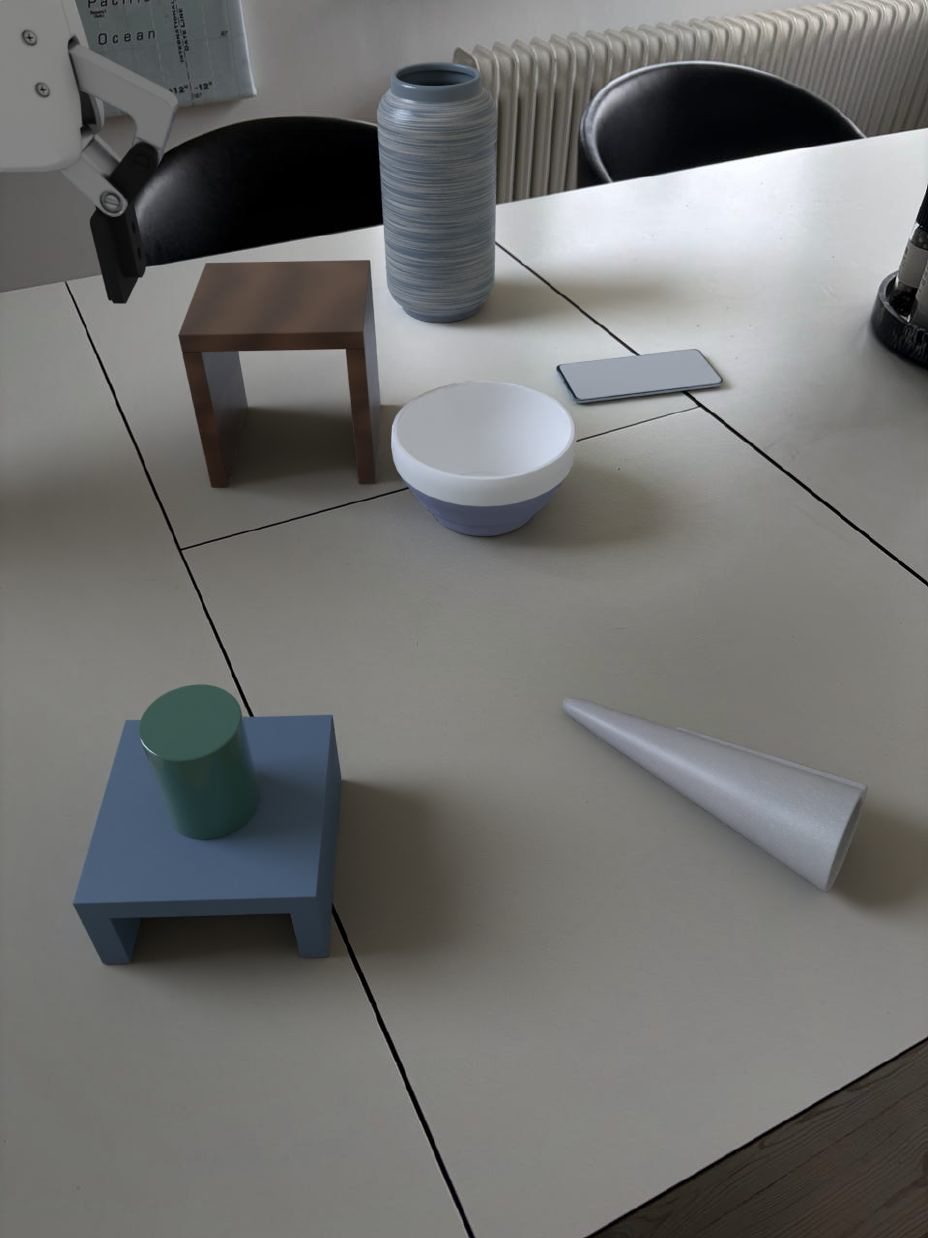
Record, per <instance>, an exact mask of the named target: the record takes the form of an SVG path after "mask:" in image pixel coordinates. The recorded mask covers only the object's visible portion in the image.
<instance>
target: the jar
mask: <svg viewBox="0 0 928 1238" xmlns="http://www.w3.org/2000/svg"><path fill="white" fill-rule="evenodd" d="M240 705H241V704H240V703H239V701H238V700H237V699H236V697H235V696H234V695H232V694H231V693H230V692H229V691H227V690H225V689H224V688H221V687H219V686H215V685H213V684H200V683H199V684H198V683H197V684H190V685H184V686H180V687H177V688H174V689H172V690H169V691H167V692H166V693H163V694H162V695H160V696H159V697H157V698H156V699H154V701H152V702H151V703H150V704H149V706H147V708H146V709H145V710H144V712H143V713H142V715H141V718H140V719H139V720H140V723H139V730H138V733H139V739H140V741H141V744H142V747H143V750H144V753H145V756H146V759H147V762H148V764H149V767H150V770H151V773H152V776H153V779H154V782H155V785H156V787H157V790H158V793H159V796H160V799H161V802H162V805H163V808H164V810H165V813H166V816H167V819H168V821H169V823H170V824H171V826H172V827H173V828H174V829H175V830H176V831H178V832H179V833H181V834H183V835H185V836H187V837H190V838H194V839H205V840H206V839H215V838H220V837H223V836H226V835H228V834H231V833H233V832H235V831H236V830H238V829H239V828H241V827H242V826H243V825H245V824H246V823H247V822H248V821H249V820H250V819H251V817H252V816H253V815H254V813H255V811H256V809H257V807H258V804H259V800H260V788H259V784H258V780H257V775H256V771H255V767H254V762H253V758H252V754H251V750H250V745H249V741H248V737H247V733H246V728H245V724H244V720H243V717H244V716H243V713H242V709H241V706H240Z"/></svg>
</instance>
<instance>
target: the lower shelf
mask: <svg viewBox="0 0 928 1238" xmlns="http://www.w3.org/2000/svg"><path fill="white" fill-rule="evenodd" d="M140 720H141V719H125V720H124V723H123V727H122V731H121V734H120V736H119V737H120V738H119V741H118V744H117V748H116V752H115V756H114V758H113V761H112V766H111V769H110V772H109V776H108V779H107V783H106V786H105V790H104V793H103V795H102V800H101V803H100V806H99V811H98V814H97V817H96V820H95V824H94V828H93V831H92V834H91V838H90V842H89V845H88V849H87V852H86V855H85V858H84V861H83V862H84V863H83V866H82V869H81V873H80V875H79V880H78V883H77V886H76V890H75V893H74V896H73V900H72V905H73V908H74V910H75V912H76V914H77V915H78V918H79V920H80V921H81V924H82V926H83V928H84V929H85V931H86V934H87V936H88V937H89V940H90V941H91V943H92V945H93V947H94V949H95V952H96V953H97V955H98V957H99V959H100V962H101V963H102V964H103V965H112V964H117V965H118V964H131V962H132V959H133V955H134V951H135V945H136V941H137V938H138V933H139V928H140V925H141V920H142V918H168V917H169V918H170V917H200V916H201V917H202V916H204V917H205V916H237V915H241V916H242V915H269V914H272V915H273V914H290V919H291V922H292V927H293V930H294V936H295V939H296V944H297V949H298V952H299V956H300V958H302V959H306V958H328V957H329V954H330V953H329V952H330V942H331V941H330V939H331V926H332V913H333V901H334V899H333V898H334V886H335V875H336V874H335V873H336V872H335V871H336V861H337V848H338V847H337V845H338V831H339V820H340V808H341V807H340V806H341V796H342V795H341V794H342V781H343V780H342V779H343V778H342V770H341V764H340V757H339V751H338V744H337V737H336V729H335V722H334V716H333V714H309V715H307V714H306V715H271V716H270V715H267V716H243V720H244V724H245V728H246V733H247V737H248V741H249V745H250V750H251V754H252V758H253V762H254V767H255V771H256V775H257V780H258V784H259V788H260V800H259V804H258V807H257V809H256V811H255V813H254V815H253V816H252V817H251V819H250V820H249V821H248V822H247V823H246V824H245V825H243V826H242V827H241V828H239V829H238V830H236V831H235V832H233V833H231V834H228V835H226V836H223V837H220V838H215V839H206V840H205V839H194V838H190V837H187V836H185V835H183V834H181V833H179V832H178V831H176V830H175V829H174V828H173V827H172V826H171V824H170V823H169V821H168V819H167V816H166V813H165V810H164V808H163V805H162V802H161V799H160V796H159V793H158V790H157V787H156V785H155V782H154V779H153V776H152V773H151V770H150V767H149V764H148V762H147V759H146V756H145V753H144V750H143V747H142V744H141V741H140V739H139V733H138V730H139V723H140Z"/></svg>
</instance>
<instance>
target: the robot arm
mask: <svg viewBox="0 0 928 1238" xmlns="http://www.w3.org/2000/svg"><path fill="white" fill-rule="evenodd" d="M86 35H87V34H86V32H85V29H84V25H83V22H82V19H81V16H80V12H79V9H78V6H77V3H76V0H0V173H43V172H45V173H46V172H55V171H58V172H59V173H60V174H61V175H62V176H63V177H64V178H65V179H66V180H67V181H68V182H70V183H71V184H72V185H73V186H74V187H75V188H76V189H77V190H78V191H79V192H80V193H82V194H83V195H84V196H85V198H87V199H88V200H89V201H90V202H91V203H92V204H94V207H95V210H94V212H93V213H92V215H91V217H90V218H89V228H90V231H91V236H92V240H93V244H94V248H95V253H96V256H97V260H98V265H99V268H100V272H101V276H102V280H103V286H104V289H105V293H106V297H107V299H108V301H110V302H112V304H113V305H115V304H121V305H122V304H123V305H126V304H127V302H128V300H129V298H130V297H131V294H132V292H133V290H134V289H135V286H136V284H137V282H138V280H139V279H140V278H141V279H142V278H143V277H144V275H145V273H146V269H147V261H146V254H145V250H144V244H143V240H142V236H141V231H140V226H139V222H138V216H137V212H136V208H135V203H134V199H135V197H136V196H137V195H138V194H139V193H140V192H141V190H142V189H143V187H145V185H146V184H147V183H148V181H149V180H150V178H151V177H152V176H153V175H154V174H155V172H156V170H157V169H158V167H159V164H160V163H161V162H162V159H163V158H164V156H165V151H166V147H167V144H168V141H169V138H170V135H171V132H172V129H173V126H174V122H175V119H176V117H177V114H178V113H177V112H178V110H179V100H178V98H177V95H175V93H174V92H172V91H171V90H169V89H167V88H165V87H164V86H161V85H159V84H158V83H155V82H153V81H152V80H149V79H148V78H146V77H144V76H142V75H140V74H138V73H136V72H134V71H132V70H130V69H129V68H126V67H125V66H124V65H123V66H122V65H120V64H118V63H116V61H115V62H114V61H113V60H111V59H109V58H107V57H105V56H103V55H101V54H99V53H97V52H95V51H94V50H92V49H90V46H89V42H88V39H87V36H86ZM104 103H106V104H108V105H110V106H112V107H114V108H116V109H118V110H120V111H122V112H123V113H126V114H127V115H129V116H130V117H131V118H132V120H133V121H134V124H135V131H134V134H133V140H132V142H131V146H130V148H129V149H128V151H127V152H126V154H124V156H123V157H121V156H120V155H119V154H118V153H117V152H116V151H115V150H114V149H113V148H112V147H111V146H110V145H109V144H108V143H107V142H106V141H105V140H104V139H103V138H102V137H101V136H100V135H99V134H98V133H99V132H100V131H102V130H103V128H104V125H105V120H106V119H105V106H104Z"/></svg>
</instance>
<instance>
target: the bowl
mask: <svg viewBox="0 0 928 1238" xmlns="http://www.w3.org/2000/svg"><path fill="white" fill-rule="evenodd" d="M572 416H573V415H571V413H570V411H569V410H568V409H567V408H566V407H565V406H564V405H563V404H561V402H560V401H558V400H556V399H555V398H553V397H551V396H550V395H548V394H547V393H545V392H542V391H540V390H539V389H538V390H537V389H535V388H532V387H529V386H526V385H523V384H518V383H512V382H508V381H507V382H506V381H497V380H496V381H495V380H468V381H461V382H455V383H449V384H446V385H442V386H438V387H435V388H433V389H430V390H427V391H425V392H422V393H421V394H419V395H417V396H416V397H414V398H412V399H411V400H410V401H408V403H406V404H405V405H404V406H402V408H400V410H399V412H397V414H396V415H395V417H394V420H393V422H392V426H391V437H390V439H391V440H390V441H391V446H390V447H391V454H392V460H393V463H394V466H395V468H396V471H397V472H398V474H399V475H400V477H401V479H402V480H403V482H404V483H405V485H406V486H407V488H408V489H409V490H410V491H411V492H412V494H414V497H415V498H416V499H417V501H418V502H419V503H420V505H422V506H423V507H424V508H425V509H426V510H428V511H429V512H430V513H431V514H432V515H433V516H434V518H435V519H436V521H438V522H439V523H440V524H442V526H443V527H446V528H448V529H450V530H452V531H454V532H457V533H460V534H463V535H468V536H475V537H488V536H489V537H491V536H492V537H493V536H497V535H499V536H500V535H503V534H507V533H510V532H513V531H515V530H518V529H519V528H521V527H522V526H524V525H526V524H527V523H528V522H529V521H530V520H531V518H533V516H534V515H535V514H536V513H537V512H538V511H540V510H541V509H543V507H545V506H546V504H547V503H548V502H549V501H550V500H551V499H552V496H553V495H554V494H555V493H556V491H558V489H559V488H560V487H561V486H562V484H563V483H564V481H565V479H566V477H567V476H568V475H569V473H570V471H571V469H572V467H573V465H574V461H575V456H576V450H577V441H578V439H577V428H576V424H575V420H574V418H573V417H572Z"/></svg>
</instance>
